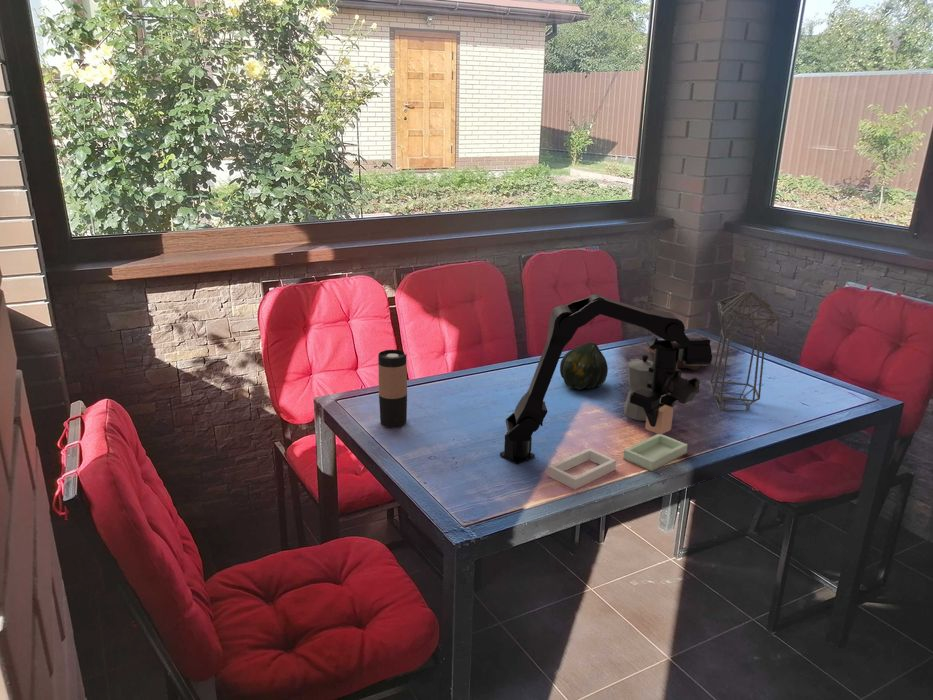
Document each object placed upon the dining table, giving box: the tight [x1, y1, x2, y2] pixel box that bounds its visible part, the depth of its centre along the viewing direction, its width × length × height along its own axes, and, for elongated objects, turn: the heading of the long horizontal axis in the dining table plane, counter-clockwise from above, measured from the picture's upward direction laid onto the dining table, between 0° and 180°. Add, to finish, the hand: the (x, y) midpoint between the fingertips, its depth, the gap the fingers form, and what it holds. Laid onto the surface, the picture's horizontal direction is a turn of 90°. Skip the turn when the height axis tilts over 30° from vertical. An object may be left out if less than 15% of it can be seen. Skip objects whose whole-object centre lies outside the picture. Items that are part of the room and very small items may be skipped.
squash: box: [559, 341, 609, 390], centre depth 230 cm, size 14×15×15 cm
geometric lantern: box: [709, 290, 781, 413], centre depth 213 cm, size 16×16×35 cm
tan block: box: [644, 403, 674, 435], centre depth 183 cm, size 4×4×6 cm
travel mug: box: [377, 349, 408, 429], centre depth 200 cm, size 8×8×20 cm
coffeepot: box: [623, 354, 653, 422], centre depth 207 cm, size 15×9×18 cm, turn 19°
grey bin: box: [547, 447, 617, 490], centre depth 178 cm, size 15×8×2 cm, turn 131°
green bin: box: [622, 433, 688, 472], centre depth 187 cm, size 15×8×2 cm, turn 131°
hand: (658, 423), depth 184 cm, fingers closed on tan block, 4 cm apart
